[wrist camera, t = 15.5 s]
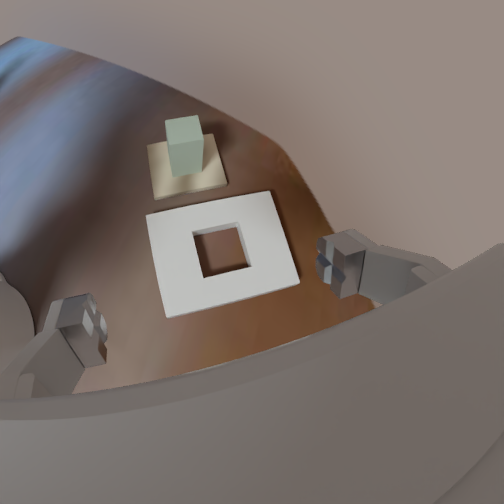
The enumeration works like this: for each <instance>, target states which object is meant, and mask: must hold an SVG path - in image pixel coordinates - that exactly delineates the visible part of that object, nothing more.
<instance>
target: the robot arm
mask: <svg viewBox="0 0 504 504" xmlns="http://www.w3.org/2000/svg"><path fill="white" fill-rule="evenodd" d="M316 249H317V250H318V251H319V255H318V257H317V258H316V270H317V274H318V275H319V277H320V279H321V280H322V281H323V282H325V283H328V284H330V289H331V290H332V291H333V292H334V294H335V295H336V296H337V297H338V298H339V299H341V298H344V297H347V296H350V295H353V294H356V293H359V294H360V295H363V296H365V297H367V298H370V299H372V300H374V301H376V302H379V303H381V304H383V305H382V306H380V307H378V308H375V309H373V310H371V311H369V312H366V313H364V314H362V315H359V316H357V317H355V318H352V319H350V320H347V321H345V322H342V323H340V324H337V325H335V326H332V327H330V328H327V329H325V330H322V331H319V332H317V333H314V334H311V335H309V336H306V337H303V338H300V339H298V340H295V341H292V342H289V343H286V344H283V345H280V346H277V347H274V348H271V349H268V350H265V351H262V352H259V353H256V354H253V355H250V356H246V357H243V358H240V359H236V360H233V361H230V362H226V363H223V364H219V365H216V366H212V367H208V368H204V369H201V370H197V371H193V372H189V373H185V374H180V375H176V376H172V377H168V378H163V379H159V380H154V381H149V382H144V383H139V384H134V385H129V386H123V387H118V388H112V389H106V390H99V391H93V392H85V393H78V394H72V392H73V390H74V388H75V386H76V384H77V383H78V381H79V379H80V377H81V375H82V374H83V372H84V370H85V369H84V368H88V367H93V366H98V365H102V364H106V356H107V349H106V347H105V345H104V343H105V342H106V340H107V328H106V323H105V320H104V318H103V316H102V314H101V313H100V312H99V311H97V310H96V301H95V299H94V297H93V295H92V294H91V293H87V294H83V295H78V296H74V297H69V298H64V299H60V300H56V301H53V302H52V303H51V306H50V309H49V312H48V315H47V318H46V321H45V324H44V328H43V331H42V332H39V333H38V334H37V335H36V336H35V337H34V324H33V319H32V315H31V312H30V309H29V307H28V305H27V303H26V301H25V299H24V298H23V296H22V295H21V294H20V293H19V292H18V291H17V290H16V289H15V288H13V287H12V286H10V285H9V284H8V283H7V282H6V280H5V278H4V276H3V275H2V273H1V272H0V504H504V244H503V243H502V244H501V243H500V244H497V245H495V246H493V247H492V248H490V249H489V250H487V251H485V252H484V253H482V254H480V255H479V256H477V257H475V258H474V259H472V260H470V261H468V262H467V263H465V264H463V265H461V266H460V267H458V268H456V269H454V270H451V269H450V268H448V267H447V266H446V265H444V264H443V263H441V262H440V261H438V260H437V259H435V258H433V257H429V256H424V255H421V254H417V253H413V252H409V251H405V250H400V249H396V248H392V247H388V246H384V245H381V246H378V245H377V244H376V243H374V242H373V241H371V240H370V239H368V238H367V237H365V236H364V235H362V234H361V233H359V232H358V231H356V230H355V229H349V230H346V231H342V232H339V233H335V234H332V235H328V236H324V237H321V238H318V241H317V247H316Z"/></svg>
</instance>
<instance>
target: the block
mask: <svg viewBox="0 0 504 504" xmlns="http://www.w3.org/2000/svg"><path fill="white" fill-rule="evenodd" d="M165 126H166V137H167V147H168V155H169V161H170V166H171V172H172V177H178V176H183V175H188V174H193V173H199V172H202V160H203V145H204V138H203V134H202V130H201V126H200V122H199V118H198V115H196V116H189V117H183V118H176V119H171V120H165Z"/></svg>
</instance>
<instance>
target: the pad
mask: <svg viewBox="0 0 504 504" xmlns="http://www.w3.org/2000/svg"><path fill="white" fill-rule="evenodd" d="M203 138H204V145H203V160H202V172H199V173H193V174H188V175H183V176H178V177H172V172H171V166H170V161H169V155H168V147H167V141H165V142H160V143H155V144H150V145H147V151H148V159H149V166H150V173H151V180H152V187H153V194H154V199H155V200H159V199H164V198H168V197H173V196H178V195H183V194H187V193H192V192H198V191H203V190H208V189H213V188H219V187H224V186H227V181H226V177H225V174H224V170H223V167H222V164H221V160H220V157H219V153H218V150H217V146H216V143H215V139H214V136H213V134H206V135H203Z"/></svg>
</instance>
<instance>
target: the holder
mask: <svg viewBox="0 0 504 504" xmlns="http://www.w3.org/2000/svg"><path fill="white" fill-rule="evenodd" d="M146 220H147V226H148V232H149V238H150V243H151V249H152V254H153V259H154V264H155V269H156V274H157V279H158V283H159V288H160V292H161V297H162V301H163V305H164V309H165V313H166V317H167V318H173V317H177V316H181V315H185V314H189V313H193V312H198V311H202V310H206V309H210V308H214V307H218V306H221V305H225V304H229V303H233V302H237V301H241V300H244V299H248V298H252V297H256V296H259V295H263V294H267V293H270V292H274V291H277V290H281V289H284V288H288V287H291V286H295V285H297V284H299V283H300V281H299V278H298V275H297V271H296V268H295V265H294V262H293V259H292V256H291V253H290V250H289V247H288V244H287V241H286V238H285V235H284V232H283V229H282V226H281V223H280V220H279V217H278V214H277V211H276V208H275V205H274V202H273V199H272V196H271V193H270V191H265V192H259V193H254V194H248V195H242V196H237V197H231V198H226V199H221V200H215V201H210V202H205V203H200V204H195V205H190V206H186V207H181V208H176V209H172V210H167V211H163V212H158V213H154V214H149V215H146ZM233 227H237V230H238V233H239V236H240V240H241V243H242V247H243V250H244V254H245V257H246V261H247V264H248V268H244V269H240V270H235V271H231V272H227V273H223V274H219V275H215V276H211V277H206V278H203V275H202V271H201V267H200V263H199V259H198V255H197V251H196V247H195V242H194V238H193V236H196V235H200V234H205V233H210V232H214V231H219V230H224V229H228V228H233Z"/></svg>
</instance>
